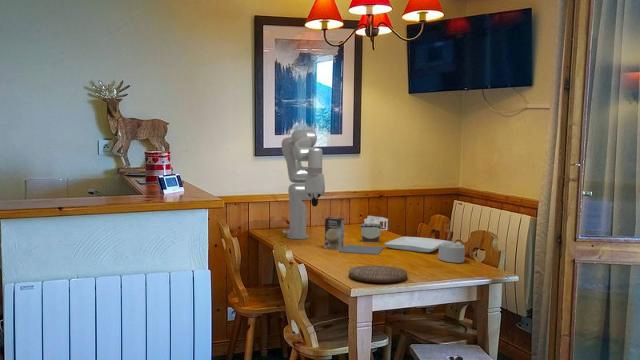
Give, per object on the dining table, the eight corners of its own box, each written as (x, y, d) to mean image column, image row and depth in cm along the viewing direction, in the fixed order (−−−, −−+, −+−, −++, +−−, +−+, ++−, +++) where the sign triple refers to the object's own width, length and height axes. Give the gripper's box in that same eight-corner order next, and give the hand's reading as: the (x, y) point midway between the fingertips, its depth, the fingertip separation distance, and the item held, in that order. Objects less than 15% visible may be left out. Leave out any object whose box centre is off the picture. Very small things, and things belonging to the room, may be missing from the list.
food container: (381, 241, 351) (382, 223, 351) (381, 243, 345) (382, 225, 345) (360, 240, 353) (360, 223, 352) (359, 242, 347) (360, 224, 346)
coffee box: (323, 248, 325) (324, 218, 324) (327, 246, 331) (328, 216, 330) (340, 250, 322) (341, 219, 321) (344, 248, 328) (344, 217, 327)
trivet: (406, 284, 251) (406, 279, 251) (345, 280, 256) (345, 276, 255) (408, 271, 276) (408, 267, 276) (352, 268, 280) (352, 264, 280)
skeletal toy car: (361, 227, 405) (361, 216, 405) (377, 226, 409) (377, 215, 408) (374, 231, 386) (374, 220, 386) (390, 231, 390) (390, 219, 390)
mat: (339, 252, 316) (339, 251, 316) (347, 245, 335) (347, 244, 335) (377, 254, 311) (378, 253, 311) (383, 247, 330) (383, 247, 330)
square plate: (403, 242, 351) (403, 235, 351) (450, 247, 337) (450, 240, 337) (383, 249, 328) (383, 242, 328) (432, 255, 314) (432, 247, 314)
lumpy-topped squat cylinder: (452, 256, 309) (452, 239, 309) (469, 261, 298) (470, 243, 297) (435, 258, 305) (436, 240, 304) (452, 263, 293) (453, 245, 292)
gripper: (299, 171, 324) (299, 206, 325) (327, 172, 321) (326, 207, 322) (303, 170, 332) (303, 205, 333) (330, 171, 328) (330, 206, 329)
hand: (314, 206), depth 327 cm, fingers closed
